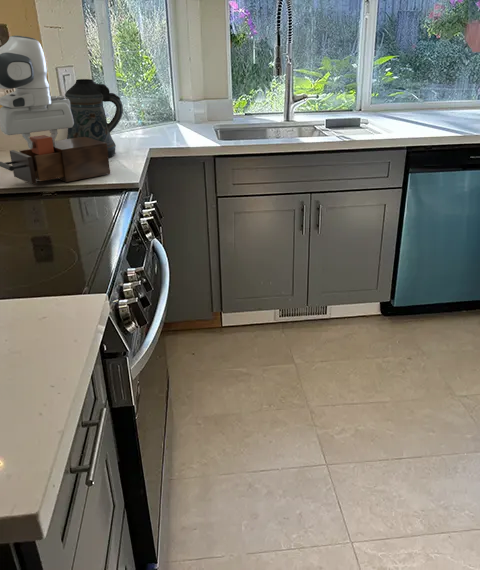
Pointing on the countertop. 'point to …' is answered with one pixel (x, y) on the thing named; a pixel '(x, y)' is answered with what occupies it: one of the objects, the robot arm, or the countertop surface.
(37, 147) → the block
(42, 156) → the drawer
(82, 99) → the dark grey pitcher
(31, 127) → the robot arm
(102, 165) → the cabinet
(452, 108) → the countertop surface
